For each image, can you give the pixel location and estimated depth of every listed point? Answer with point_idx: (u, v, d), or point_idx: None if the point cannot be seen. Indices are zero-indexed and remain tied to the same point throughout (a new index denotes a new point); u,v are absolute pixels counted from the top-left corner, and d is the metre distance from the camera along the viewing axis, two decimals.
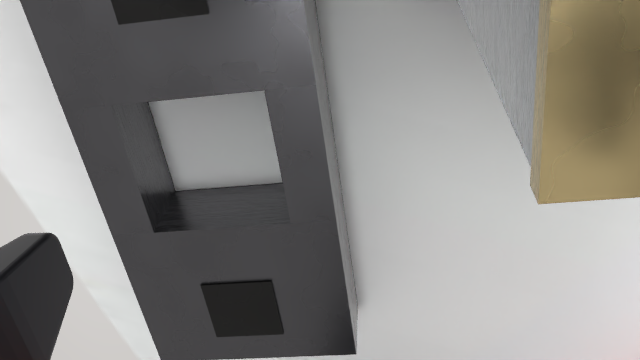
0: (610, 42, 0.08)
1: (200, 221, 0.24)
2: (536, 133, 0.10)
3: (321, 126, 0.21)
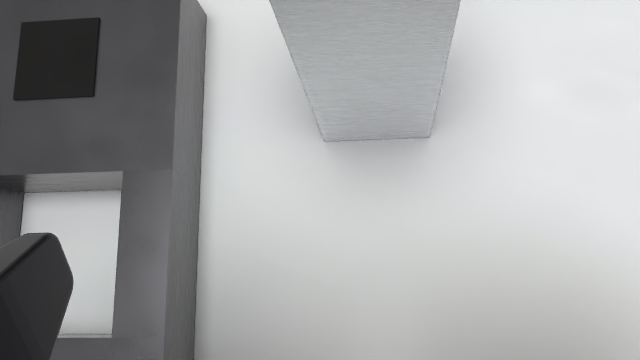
0: None
1: None
2: None
3: (169, 214, 0.20)
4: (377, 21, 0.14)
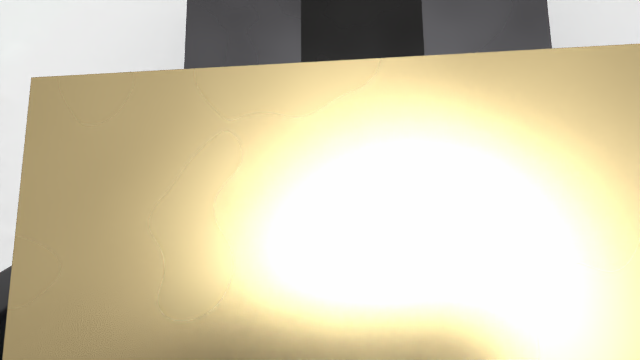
0: (134, 296, 0.04)
1: None
2: None
3: None
4: None
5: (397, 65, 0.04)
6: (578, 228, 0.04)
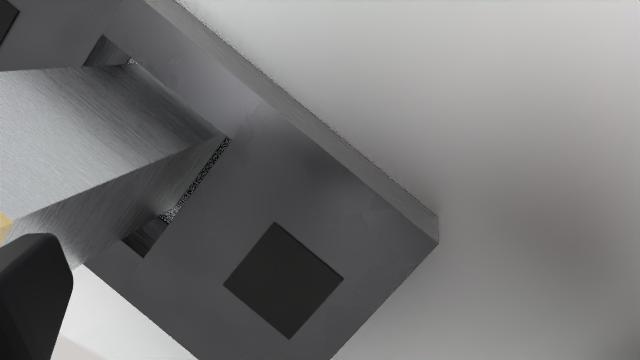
0: None
1: None
2: None
3: (167, 20, 0.19)
4: None
5: None
6: None
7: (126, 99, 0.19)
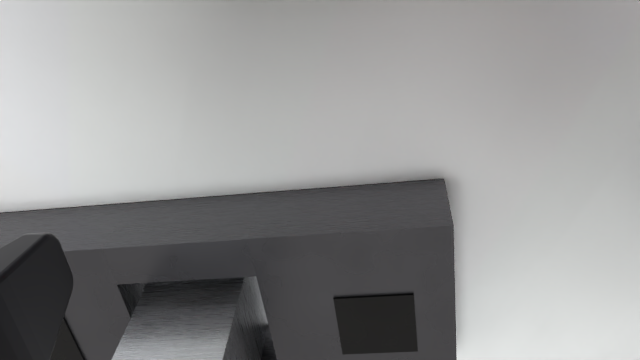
0: None
1: None
2: None
3: (142, 246, 0.22)
4: None
5: None
6: None
7: (170, 318, 0.22)
